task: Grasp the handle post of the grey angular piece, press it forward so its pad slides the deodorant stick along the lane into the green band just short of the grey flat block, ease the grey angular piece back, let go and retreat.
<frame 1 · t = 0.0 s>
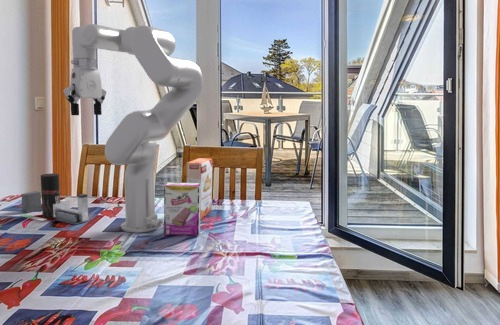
hand: (86, 114, 145), 37 cm above the table, tool pointing down, fingers open, 9 cm apart
cracker box: (199, 215, 156), on the table
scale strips: (52, 215, 151), on the table
grey angular piece: (72, 205, 146), point 5 cm above the table, slide at 0.0 cm
green band: (42, 213, 154), on the table
grey metal bracket: (72, 220, 147), on the table
candy bar box: (182, 234, 134), on the table
grey flat block: (32, 211, 157), on the table
deodorant: (51, 216, 152), on the table
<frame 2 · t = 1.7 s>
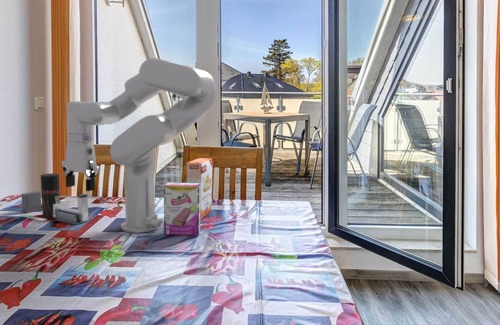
hand: (80, 188, 142), 12 cm above the table, tool pointing down, fingers open, 9 cm apart
nothing on the table moved.
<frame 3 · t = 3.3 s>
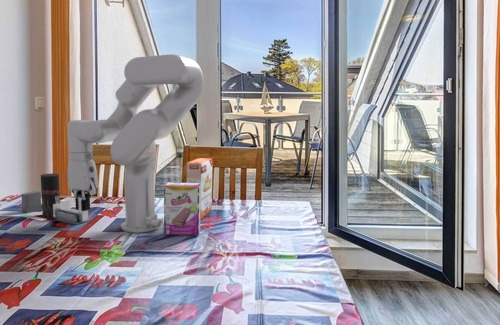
hand: (83, 209, 143), 5 cm above the table, tool pointing down, fingers closed on grey angular piece, 2 cm apart
grey angular piece: (72, 205, 146), point 5 cm above the table, slide at 0.0 cm, touching gripper
everything else where it was.
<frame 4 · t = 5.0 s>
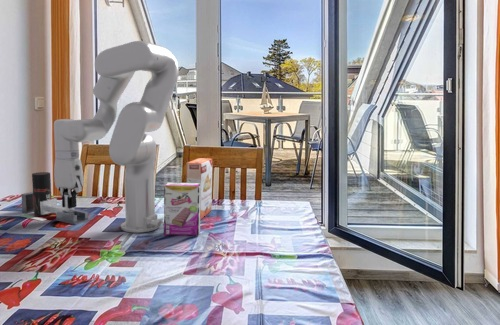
hand: (69, 206, 146), 5 cm above the table, tool pointing down, fingers closed on grey angular piece, 2 cm apart
grey angular piece: (59, 202, 149), point 5 cm above the table, slide at 6.9 cm, touching deodorant, gripper
deodorant: (43, 214, 154), on the table, touching grey angular piece
everything else where it was.
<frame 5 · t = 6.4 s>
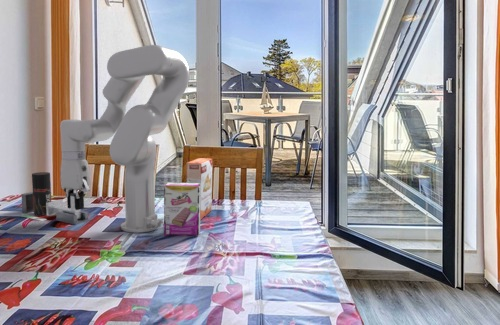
hand: (75, 207, 145), 5 cm above the table, tool pointing down, fingers open, 3 cm apart
grey angular piece: (65, 204, 147), point 5 cm above the table, slide at 3.6 cm
deodorant: (43, 214, 154), on the table
everything else where it was.
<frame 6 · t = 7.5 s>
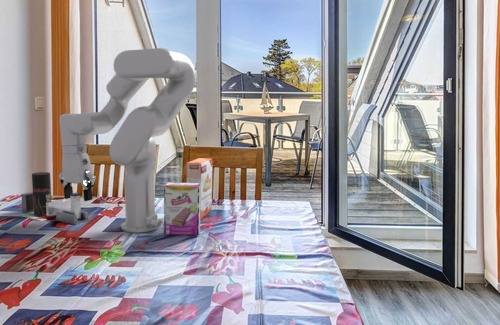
hand: (78, 199, 144), 8 cm above the table, tool pointing down, fingers open, 9 cm apart
nothing on the table moved.
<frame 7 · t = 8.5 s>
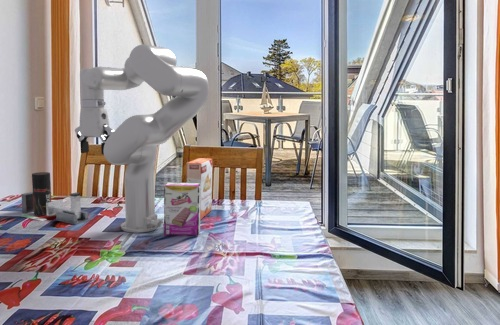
hand: (95, 153, 148), 23 cm above the table, tool pointing down, fingers open, 9 cm apart
nothing on the table moved.
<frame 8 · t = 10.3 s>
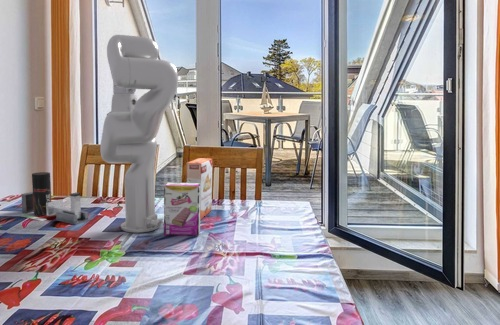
hand: (124, 137, 157), 28 cm above the table, tool pointing down, fingers open, 9 cm apart
nothing on the table moved.
at the end: deodorant 0.6 cm from the target spot, on the table; deodorant tilted 0°; deodorant touching table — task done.
